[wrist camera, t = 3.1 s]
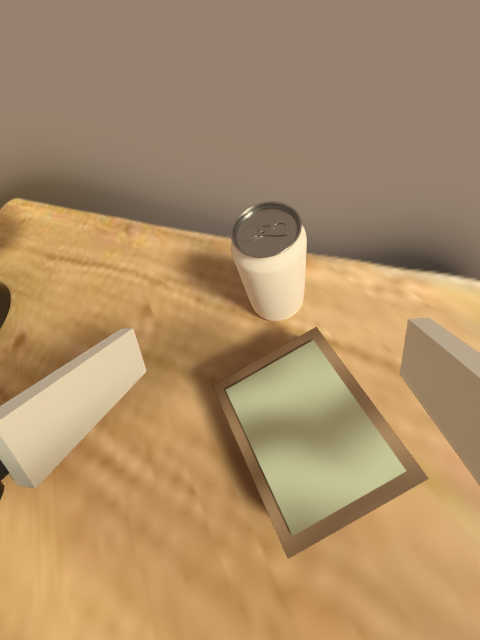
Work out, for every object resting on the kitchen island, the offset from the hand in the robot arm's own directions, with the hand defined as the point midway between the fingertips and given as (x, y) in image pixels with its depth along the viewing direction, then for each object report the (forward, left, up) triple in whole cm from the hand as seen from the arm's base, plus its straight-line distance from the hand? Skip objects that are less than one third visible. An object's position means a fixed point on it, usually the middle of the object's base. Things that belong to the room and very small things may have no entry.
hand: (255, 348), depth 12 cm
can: (-9, +5, -15) cm, 19 cm away
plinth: (+4, 0, -15) cm, 16 cm away
